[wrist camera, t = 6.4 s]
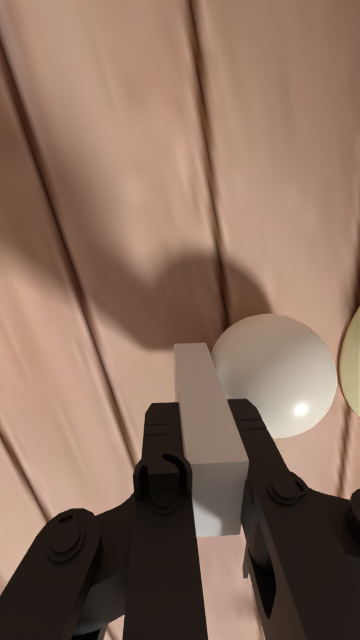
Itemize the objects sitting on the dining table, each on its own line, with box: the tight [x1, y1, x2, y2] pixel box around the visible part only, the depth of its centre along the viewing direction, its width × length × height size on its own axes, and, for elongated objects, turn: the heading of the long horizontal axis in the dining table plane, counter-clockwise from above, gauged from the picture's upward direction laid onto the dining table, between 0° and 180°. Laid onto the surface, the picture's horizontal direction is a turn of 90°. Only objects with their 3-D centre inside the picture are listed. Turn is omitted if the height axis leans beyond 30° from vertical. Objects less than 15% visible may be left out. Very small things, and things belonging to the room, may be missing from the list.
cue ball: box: [211, 314, 337, 438], centre depth 12 cm, size 6×6×6 cm
